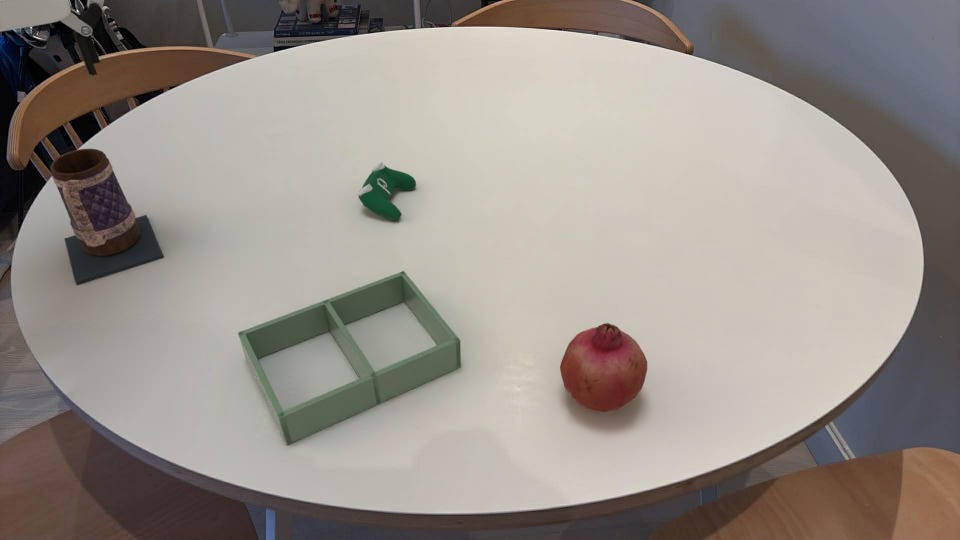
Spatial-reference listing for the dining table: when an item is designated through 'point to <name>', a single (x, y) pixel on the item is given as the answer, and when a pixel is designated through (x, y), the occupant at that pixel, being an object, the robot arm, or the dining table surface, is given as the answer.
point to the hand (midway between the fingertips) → (41, 80)
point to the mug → (95, 202)
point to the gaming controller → (384, 190)
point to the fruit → (603, 368)
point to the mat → (100, 266)
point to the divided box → (351, 353)
